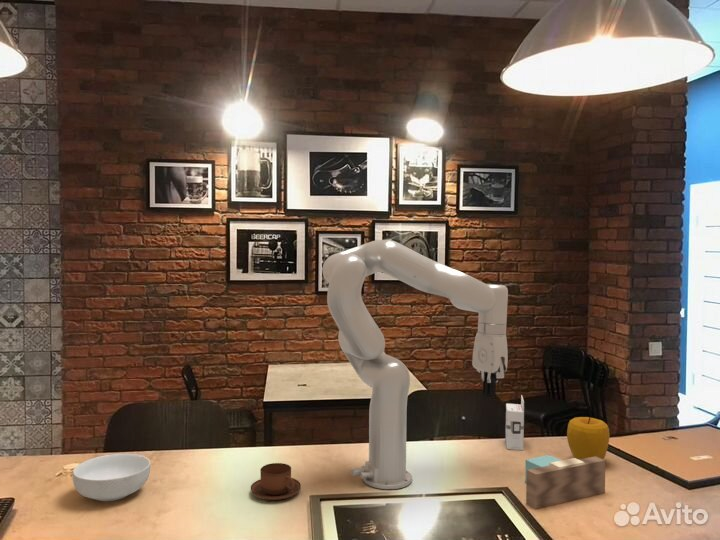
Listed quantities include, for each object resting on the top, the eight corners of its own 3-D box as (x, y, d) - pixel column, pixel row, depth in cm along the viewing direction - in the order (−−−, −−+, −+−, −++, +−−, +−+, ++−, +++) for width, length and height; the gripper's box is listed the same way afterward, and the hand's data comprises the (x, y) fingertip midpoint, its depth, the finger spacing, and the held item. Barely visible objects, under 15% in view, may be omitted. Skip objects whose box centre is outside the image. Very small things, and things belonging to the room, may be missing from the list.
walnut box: (535, 509, 128) (535, 471, 128) (525, 503, 131) (526, 467, 131) (605, 492, 138) (605, 457, 137) (594, 488, 140) (595, 453, 140)
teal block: (555, 498, 135) (555, 473, 135) (525, 483, 144) (525, 459, 144) (579, 491, 139) (579, 467, 139) (548, 477, 148) (548, 454, 147)
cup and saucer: (308, 487, 140) (308, 463, 140) (287, 508, 128) (287, 481, 128) (265, 481, 144) (265, 457, 143) (240, 500, 132) (241, 474, 132)
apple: (565, 466, 155) (566, 420, 154) (567, 453, 165) (568, 410, 164) (609, 472, 151) (610, 424, 150) (608, 459, 161) (609, 414, 160)
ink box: (505, 440, 177) (505, 393, 176) (521, 441, 176) (522, 394, 175) (506, 449, 168) (507, 400, 168) (523, 450, 167) (524, 401, 167)
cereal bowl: (73, 516, 123) (72, 484, 123) (72, 488, 138) (72, 459, 138) (155, 501, 131) (154, 471, 131) (146, 476, 146) (146, 449, 146)
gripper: (464, 326, 159) (461, 391, 159) (498, 333, 146) (494, 404, 146) (486, 326, 162) (483, 389, 162) (521, 332, 149) (517, 402, 149)
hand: (488, 396), depth 154 cm, fingers closed
